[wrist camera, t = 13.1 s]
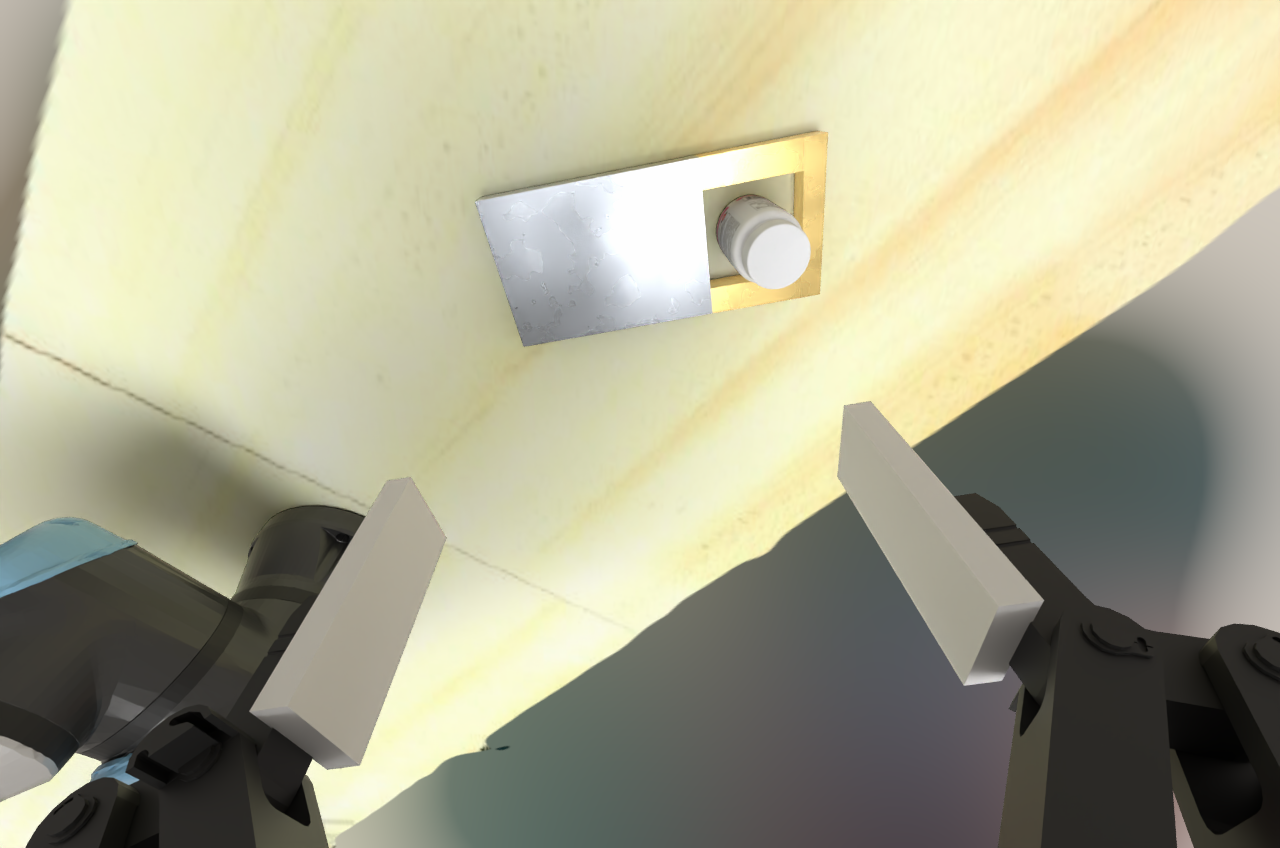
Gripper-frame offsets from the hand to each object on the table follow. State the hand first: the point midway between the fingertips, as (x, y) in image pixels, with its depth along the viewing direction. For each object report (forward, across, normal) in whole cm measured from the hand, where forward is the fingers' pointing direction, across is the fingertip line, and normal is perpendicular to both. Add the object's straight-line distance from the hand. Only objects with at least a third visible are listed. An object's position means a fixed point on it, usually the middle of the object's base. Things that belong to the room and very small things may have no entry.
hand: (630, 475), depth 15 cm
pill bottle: (+27, +10, 0) cm, 29 cm away
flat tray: (+27, +3, 0) cm, 27 cm away
